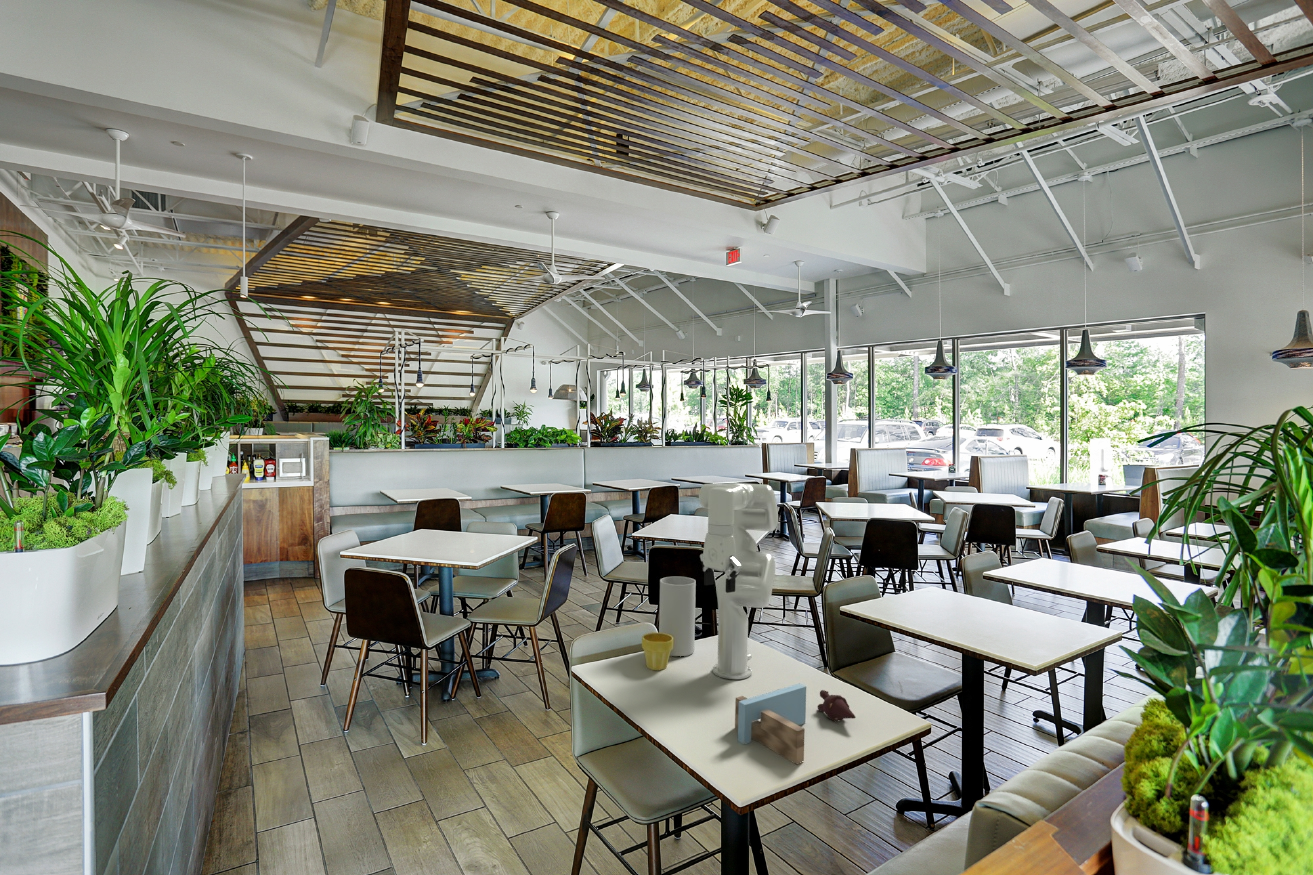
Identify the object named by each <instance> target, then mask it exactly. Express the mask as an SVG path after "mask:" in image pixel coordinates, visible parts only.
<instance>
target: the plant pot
mask: <svg viewBox="0 0 1313 875" xmlns="http://www.w3.org/2000/svg"><path fill="white" fill-rule="evenodd" d="M641 648H642V649H643V653H644V657H645V658H644V659H645V665H646V667H647V669H649V670H652V671H662V669H663V670H665V669H667V667H668V662H669V658H670V656H669V655H670V651H671V650H672V648H673V637H672V636H671V635H669V634H665V633H659V632H648V633H645V634H643V635H642V637H641Z"/></svg>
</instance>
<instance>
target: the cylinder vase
mask: <svg viewBox="0 0 1313 875" xmlns="http://www.w3.org/2000/svg"><path fill="white" fill-rule="evenodd" d="M696 586H697V584H696V579H694V578H691V577H687V576H666V577H663V578H660V579H659V617H658V621H659V624H658V625H659V626H658V629H659V630H658V633H665V634H669V635H671V636H672V637H673V648H672V650H671V651H670V655H669V657H672V656H680V657H679V658H681V656H684V657H688V656H690V655H692V654H693V653H694V652H695V639H696V638H695V635H696V633H695V632H696V631H695V630H696V629H695V628H696V591H697V590H696Z"/></svg>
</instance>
